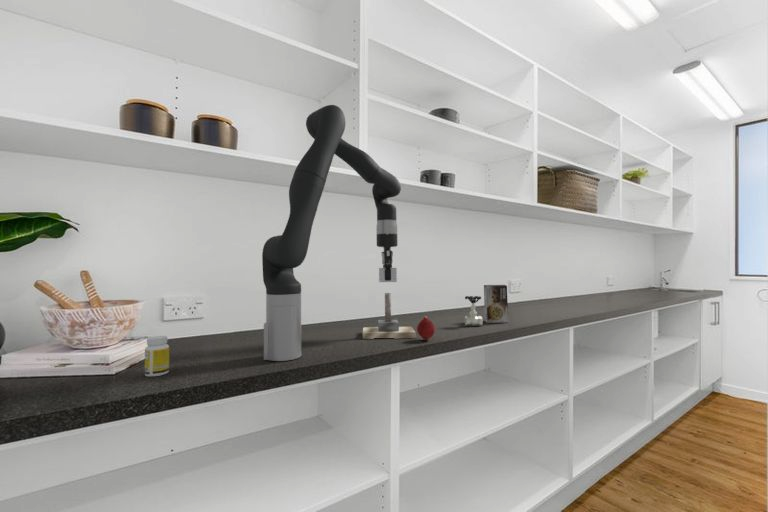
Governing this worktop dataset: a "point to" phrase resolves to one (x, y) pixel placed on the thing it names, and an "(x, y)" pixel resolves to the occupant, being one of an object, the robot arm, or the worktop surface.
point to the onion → (426, 328)
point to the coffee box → (495, 303)
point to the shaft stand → (388, 326)
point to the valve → (473, 313)
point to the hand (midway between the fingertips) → (387, 280)
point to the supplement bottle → (156, 356)
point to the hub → (382, 275)
